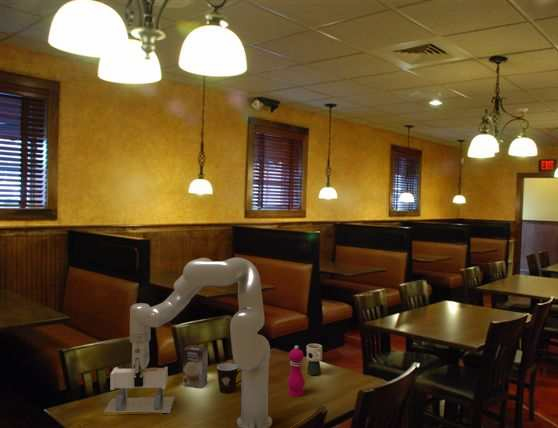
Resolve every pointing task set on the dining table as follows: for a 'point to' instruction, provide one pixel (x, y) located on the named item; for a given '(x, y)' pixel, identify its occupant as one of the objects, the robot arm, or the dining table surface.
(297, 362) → the pepper mill
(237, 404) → the dining table surface
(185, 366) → the coffee box
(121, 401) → the slot rack
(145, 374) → the strip bar
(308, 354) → the character mug
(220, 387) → the coffee mug
